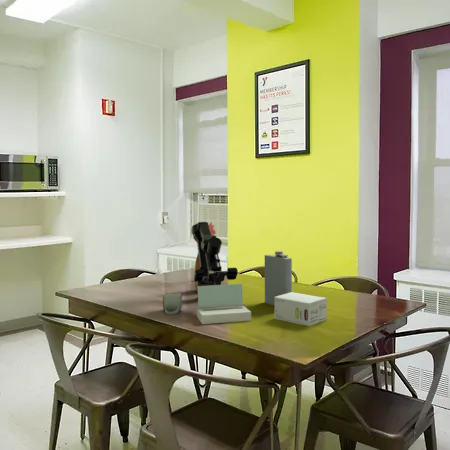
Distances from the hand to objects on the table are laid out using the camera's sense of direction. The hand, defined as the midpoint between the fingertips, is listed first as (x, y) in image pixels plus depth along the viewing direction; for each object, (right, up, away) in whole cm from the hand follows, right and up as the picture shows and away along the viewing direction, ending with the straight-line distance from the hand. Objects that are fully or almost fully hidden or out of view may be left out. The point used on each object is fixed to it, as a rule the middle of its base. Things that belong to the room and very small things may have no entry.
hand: (218, 290), depth 198 cm
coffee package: (-6, -7, +49) cm, 50 cm away
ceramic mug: (-20, -10, +5) cm, 23 cm away
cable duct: (+2, -10, -7) cm, 13 cm away
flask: (+27, -9, +15) cm, 32 cm away
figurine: (-6, -6, +77) cm, 77 cm away
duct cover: (+1, -2, -3) cm, 4 cm away
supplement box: (+33, -11, -9) cm, 36 cm away
